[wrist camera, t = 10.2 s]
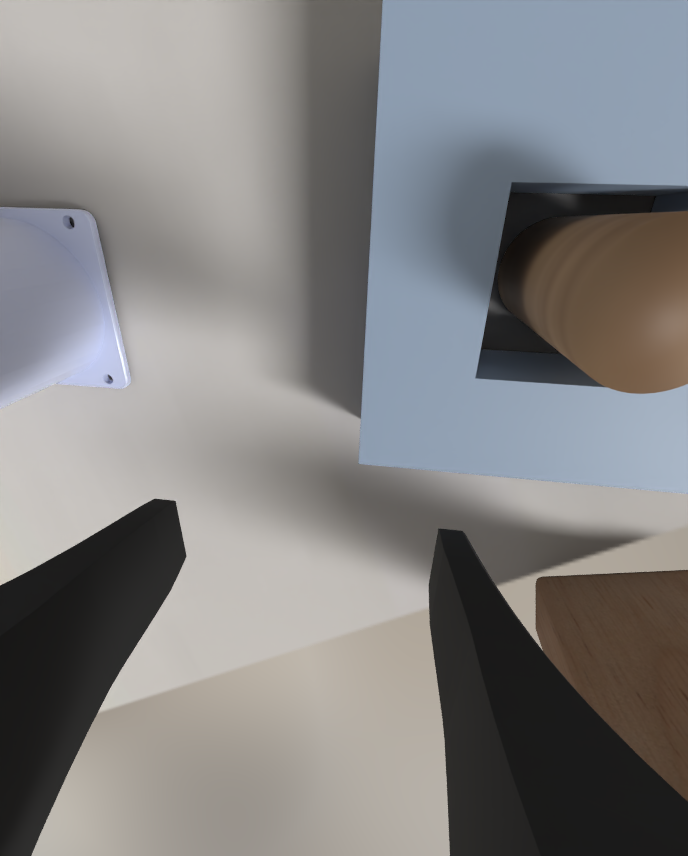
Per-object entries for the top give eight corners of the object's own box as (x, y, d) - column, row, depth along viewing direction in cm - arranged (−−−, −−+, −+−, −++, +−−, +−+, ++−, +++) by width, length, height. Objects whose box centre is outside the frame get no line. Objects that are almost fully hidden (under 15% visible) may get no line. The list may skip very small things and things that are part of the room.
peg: (493, 325, 17) (556, 394, 10) (503, 221, 16) (587, 218, 9) (593, 321, 17) (733, 392, 10) (615, 212, 15) (807, 202, 8)
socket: (366, 421, 20) (358, 464, 17) (387, 53, 14) (382, -5, 10) (666, 446, 19) (728, 497, 15) (844, 48, 12) (1021, -21, 9)
